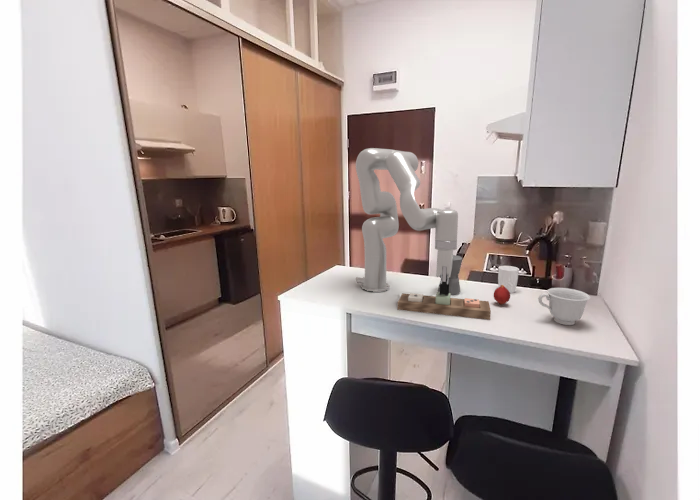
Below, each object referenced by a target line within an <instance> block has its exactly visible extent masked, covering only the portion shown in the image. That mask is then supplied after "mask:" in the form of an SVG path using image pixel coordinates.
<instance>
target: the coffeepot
mask: <svg viewBox="0 0 700 500" xmlns="http://www.w3.org/2000/svg"><path fill="white" fill-rule="evenodd" d="M462 262H463V257H462V256H461V255H455V254H453V262H452V271H451V276H450V278H449V293H451V296H456V295H459V294H460V293H461V285H460V278H459V274H460V273H461V272H460V271H461V266H462ZM439 278H440V281H439V283H440V282H441V275H440V277H439ZM437 291H438V292H440V284H439V285H438V290H437Z"/></svg>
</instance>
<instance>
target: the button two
mask: <svg viewBox="0 0 700 500" xmlns="http://www.w3.org/2000/svg"><path fill="white" fill-rule="evenodd" d="M435 296H436V304H443V305H450V298H451V296H452V295H451V293H449V294H448V295H445V294H440V292H439V291H438V292H437V291H436V295H435Z"/></svg>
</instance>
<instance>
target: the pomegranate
mask: <svg viewBox="0 0 700 500" xmlns="http://www.w3.org/2000/svg"><path fill="white" fill-rule="evenodd" d="M493 299H494V300H495V301H496V303H498V304H499V305H500V306H503V305H505V304H506V303H508V302H509V301H510V299H511V293H510V292H509V291H508V289H507V288H506V287H504V285H500V287H497V288H496V289H495V290H494V291H493Z"/></svg>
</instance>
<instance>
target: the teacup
mask: <svg viewBox="0 0 700 500" xmlns="http://www.w3.org/2000/svg"><path fill="white" fill-rule="evenodd" d="M543 298H546V301H548V304H549V305H548V304H545V303H544V302H543ZM537 299H538V303H539V304H540V305H541V306H542V307H545V308H547V309H548V311H549V313H550V314H551V316H552V317H554V319H553V320H554V322H556V323H557V324H560V325H563V326H572V325H575V324H576V323H575V322H576V321H579V320H580V319H581V318H582V316H583V314H584V312H585V308H586V305H587V303H588V301H589V300H591V295H589V294H588V293H586V292H584V291H581V290H577V289H574V288H568V287H551V288H549V289H547V290H546V292H543V293H542V292H541V293H540V294H539V295H538V298H537Z"/></svg>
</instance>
